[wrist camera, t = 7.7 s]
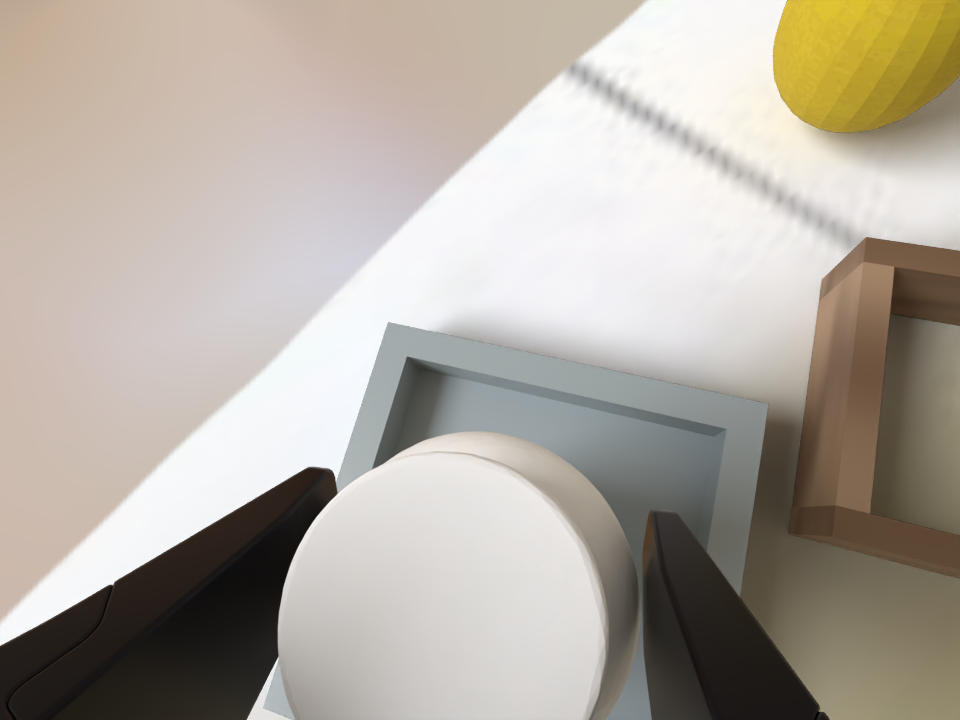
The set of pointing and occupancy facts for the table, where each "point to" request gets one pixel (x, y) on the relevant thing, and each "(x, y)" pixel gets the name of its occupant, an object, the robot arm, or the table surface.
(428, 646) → the supplement bottle
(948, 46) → the lemon
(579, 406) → the parts tray
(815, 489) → the brown wooden open box
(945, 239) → the table surface
